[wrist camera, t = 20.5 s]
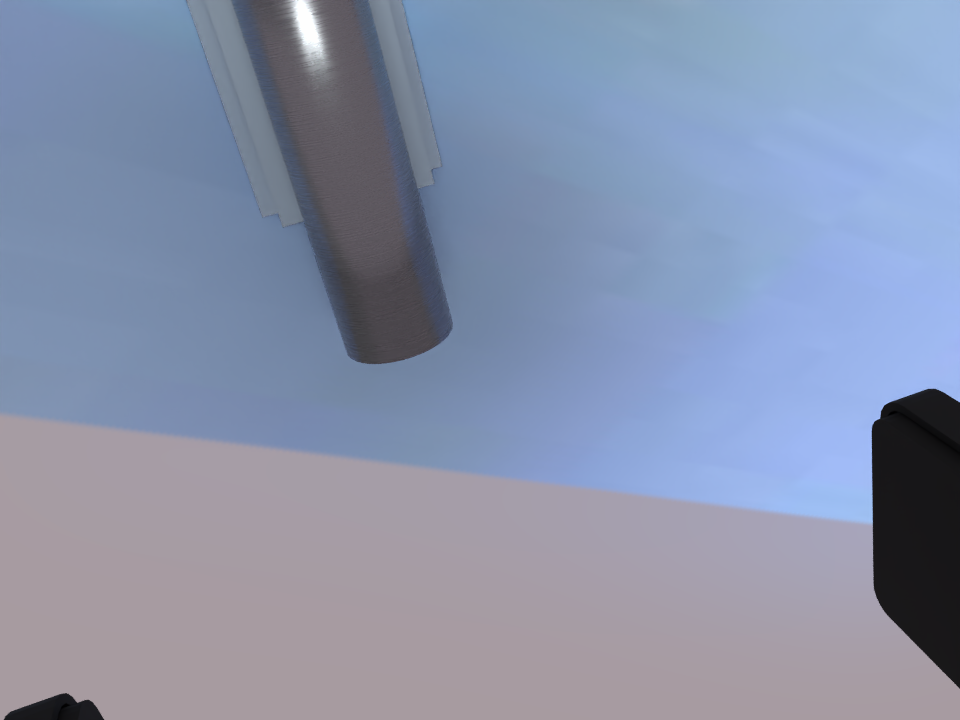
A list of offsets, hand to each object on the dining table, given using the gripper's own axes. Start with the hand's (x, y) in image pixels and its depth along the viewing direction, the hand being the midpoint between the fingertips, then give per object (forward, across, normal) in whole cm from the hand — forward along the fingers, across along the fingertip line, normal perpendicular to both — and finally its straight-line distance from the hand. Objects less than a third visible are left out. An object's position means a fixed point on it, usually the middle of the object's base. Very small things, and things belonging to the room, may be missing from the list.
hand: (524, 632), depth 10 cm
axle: (+24, 0, -4) cm, 24 cm away
